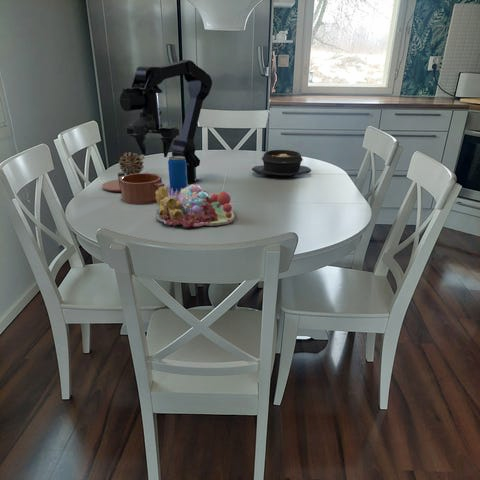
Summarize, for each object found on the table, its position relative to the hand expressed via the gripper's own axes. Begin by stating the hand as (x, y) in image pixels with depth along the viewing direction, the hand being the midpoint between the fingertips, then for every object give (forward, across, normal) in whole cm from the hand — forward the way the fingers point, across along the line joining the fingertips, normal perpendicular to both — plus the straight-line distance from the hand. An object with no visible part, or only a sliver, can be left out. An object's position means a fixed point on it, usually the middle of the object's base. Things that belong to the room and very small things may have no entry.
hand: (154, 155), depth 163 cm
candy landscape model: (+12, +27, -20) cm, 36 cm away
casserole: (+13, +33, +42) cm, 55 cm away
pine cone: (+12, -21, +15) cm, 29 cm away
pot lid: (+12, -14, -3) cm, 18 cm away
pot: (+12, +1, -12) cm, 17 cm away
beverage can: (+12, +8, +2) cm, 15 cm away
